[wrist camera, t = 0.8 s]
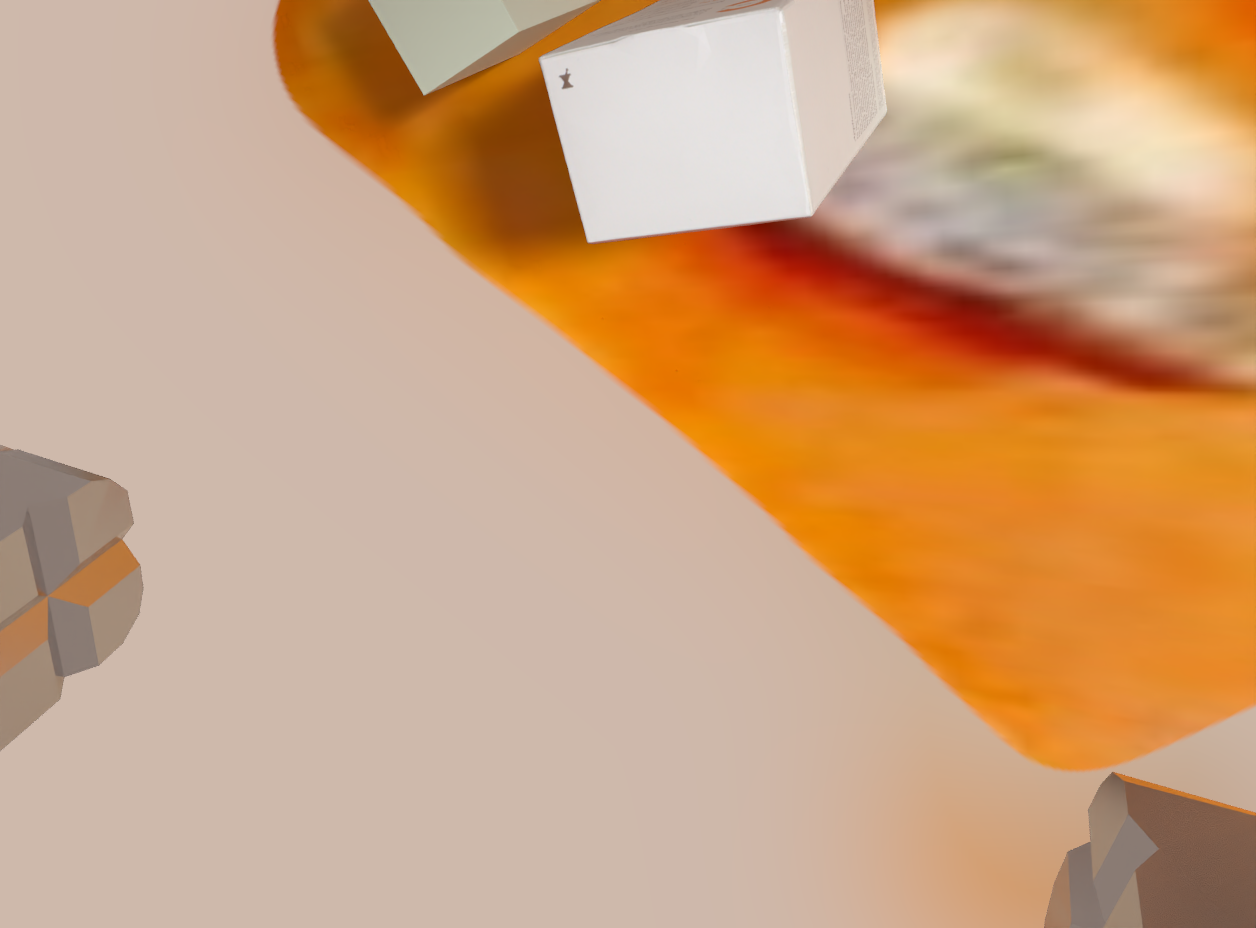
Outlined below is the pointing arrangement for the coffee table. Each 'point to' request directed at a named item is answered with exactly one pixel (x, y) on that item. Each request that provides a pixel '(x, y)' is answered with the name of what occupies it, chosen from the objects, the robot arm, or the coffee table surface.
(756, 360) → the coffee table surface
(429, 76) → the sage block
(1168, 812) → the robot arm
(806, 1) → the small box
